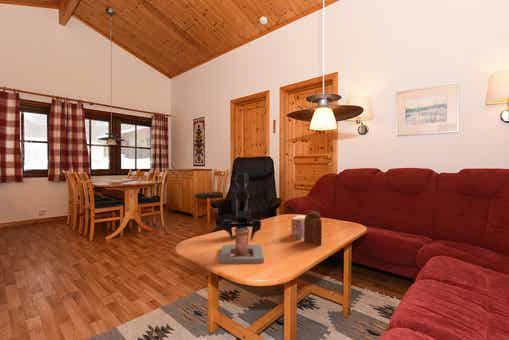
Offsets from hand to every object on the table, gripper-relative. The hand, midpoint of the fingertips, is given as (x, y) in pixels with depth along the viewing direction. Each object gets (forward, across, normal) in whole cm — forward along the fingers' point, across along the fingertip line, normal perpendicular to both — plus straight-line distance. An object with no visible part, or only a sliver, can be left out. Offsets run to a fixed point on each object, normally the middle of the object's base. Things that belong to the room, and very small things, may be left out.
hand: (241, 240), depth 120 cm
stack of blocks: (-20, +38, +32) cm, 54 cm away
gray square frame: (+4, 0, +8) cm, 9 cm away
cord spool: (+5, 0, +7) cm, 8 cm away
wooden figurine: (-9, +41, +21) cm, 47 cm away
